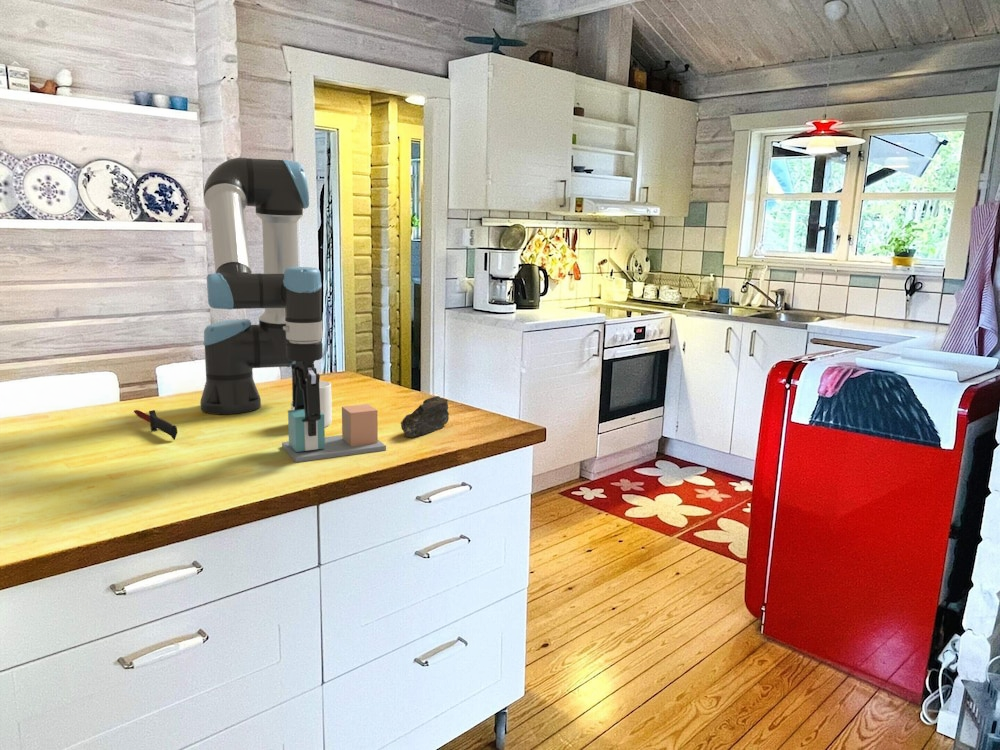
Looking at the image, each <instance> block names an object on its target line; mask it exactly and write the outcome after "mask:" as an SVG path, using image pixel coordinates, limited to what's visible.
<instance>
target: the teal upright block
mask: <svg viewBox="0 0 1000 750" xmlns="http://www.w3.org/2000/svg"><path fill="white" fill-rule="evenodd" d="M312 415H313V414H312ZM320 415H321V419H320V420H317V424H318V449H323V448H325V437H326V436H325V435H326V434H325V432H326V431H325V429H326V428H325V427H324V414H323V413H322V412H321V411H320ZM287 417H288V418H287V419H288V420H287V421H288V425H287V426H288V427H287V428H288V442H289V445H290V446H291V447H292V448H293V449H294V450H295V451H296V452H300V451H305V443H304V422H302V419H305V411H304V409H300V410H291V409H290V410H287ZM315 450H316V449H315ZM307 451H308V450H307Z"/></svg>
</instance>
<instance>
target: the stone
mask: <svg viewBox="0 0 1000 750" xmlns="http://www.w3.org/2000/svg"><path fill="white" fill-rule="evenodd" d="M448 401H449V399H446V398H444V397H441V396H440V395H439V396H438V395H437V396H432V397H429V398H427V399H424V400H423V402H422V404H420V405H419V406H418V407H417V408H416V409H414V411H413V412H412V413H410V414H406V415H405V417H404V418H403V419H402V420H401V422H400V425H401V427H400V428H401V430H402V431H403V435H404V437H407V438H416V437H419V436H427V434H428V433H433V432H437V431H440V430H442V429H443V428H444V426H445V425H446V424H447V423H448V422H449V418H450V417H449V414H450V413H449V411H448V410H449V405H448Z"/></svg>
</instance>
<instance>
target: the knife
mask: <svg viewBox="0 0 1000 750" xmlns="http://www.w3.org/2000/svg"><path fill="white" fill-rule="evenodd" d="M133 413H134V414H135V415H136V416H137V417H138V418H140V419H142V420H144V421H146V422H147V423H149V424H150V431H151V432H156V431H158V430H159V431H160V432H162V433H165V434H167V435H169V436H170V437H171V439H172V440H174V441H175V440H176V437H177V434H178V428H177V425H173V424H172V423H170V422H168V421H167V420H164V419H162V418H160V417H158V416H157V413H156V410H155V409H152V410H149V411H148V413H149V414H147V413H145V412H143V411H141V410H139V409H134V410H133Z"/></svg>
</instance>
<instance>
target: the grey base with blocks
mask: <svg viewBox="0 0 1000 750" xmlns="http://www.w3.org/2000/svg"><path fill="white" fill-rule="evenodd" d="M341 431H342V432H341V434H340V435H333V436H332V435H331V436H325V448H323V449H316V450H308V451H300V452H296V451H295V450H294V449H293V448H292V447H291V446H290V445H289V441H282V442H281V447H282V448H283V450H284V451H285V452H286V453H287V454H288V455H289V456H290V457H291V458H292V460H293V461H294V462H295V463H301V462H309V461H315V460H323V459H331V458H339V457H347V456H352V455H361V454H368V453H375V452H376V453H377V452H381V451H387V445H386V444H384V443H383V442H382V441H380V439H378V438H379V437H378V435H379V434H378V431H379V430H378V409H376V408H375V407H373V406H371V405H370V404H368V403H364V404H354V405H346V406H341Z"/></svg>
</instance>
